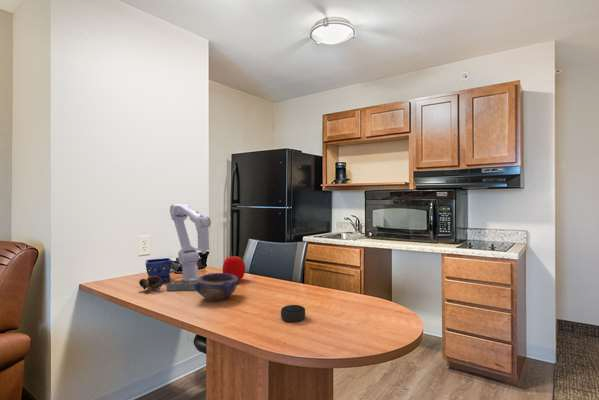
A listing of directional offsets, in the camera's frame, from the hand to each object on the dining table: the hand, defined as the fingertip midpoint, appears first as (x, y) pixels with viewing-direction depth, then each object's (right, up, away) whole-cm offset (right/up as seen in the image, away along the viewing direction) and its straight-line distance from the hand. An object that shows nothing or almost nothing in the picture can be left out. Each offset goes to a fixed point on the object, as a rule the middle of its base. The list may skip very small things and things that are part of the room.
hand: (204, 265), depth 180 cm
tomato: (+15, -10, +6) cm, 19 cm away
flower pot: (-28, -11, +11) cm, 32 cm away
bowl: (+14, -10, -27) cm, 32 cm away
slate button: (-3, -10, -8) cm, 13 cm away
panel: (-3, -10, -8) cm, 13 cm away
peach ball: (-10, -10, -7) cm, 16 cm away
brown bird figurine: (-23, -11, -10) cm, 28 cm away
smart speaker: (+48, -9, -56) cm, 74 cm away
